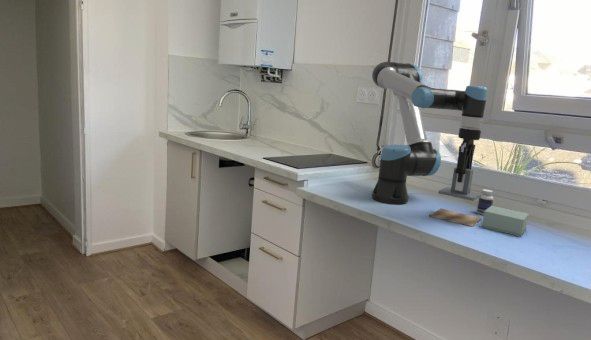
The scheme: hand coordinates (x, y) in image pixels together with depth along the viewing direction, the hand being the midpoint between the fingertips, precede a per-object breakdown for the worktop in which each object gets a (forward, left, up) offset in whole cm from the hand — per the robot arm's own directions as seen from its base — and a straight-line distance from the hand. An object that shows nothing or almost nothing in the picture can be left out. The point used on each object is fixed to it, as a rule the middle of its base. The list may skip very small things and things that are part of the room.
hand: (460, 189), depth 166 cm
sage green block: (+17, +2, -11) cm, 20 cm away
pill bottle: (+6, +16, -12) cm, 21 cm away
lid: (0, 0, -2) cm, 2 cm away
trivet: (0, 0, -11) cm, 11 cm away
